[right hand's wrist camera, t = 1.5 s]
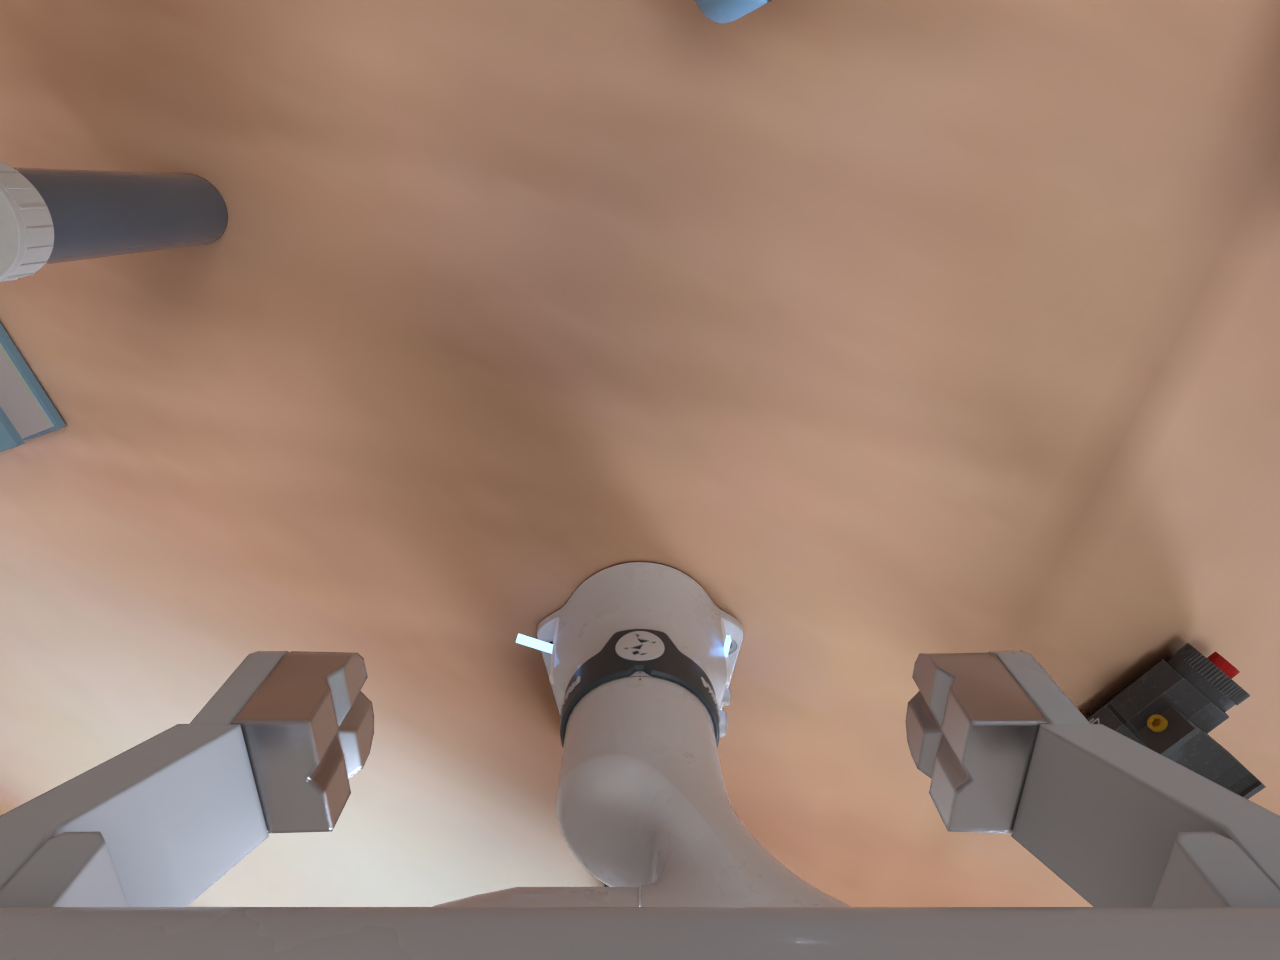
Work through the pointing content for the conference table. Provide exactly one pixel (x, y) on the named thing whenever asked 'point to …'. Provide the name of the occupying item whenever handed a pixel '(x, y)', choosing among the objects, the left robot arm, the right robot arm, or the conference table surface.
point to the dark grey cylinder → (126, 211)
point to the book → (22, 399)
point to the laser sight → (1183, 715)
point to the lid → (22, 226)
